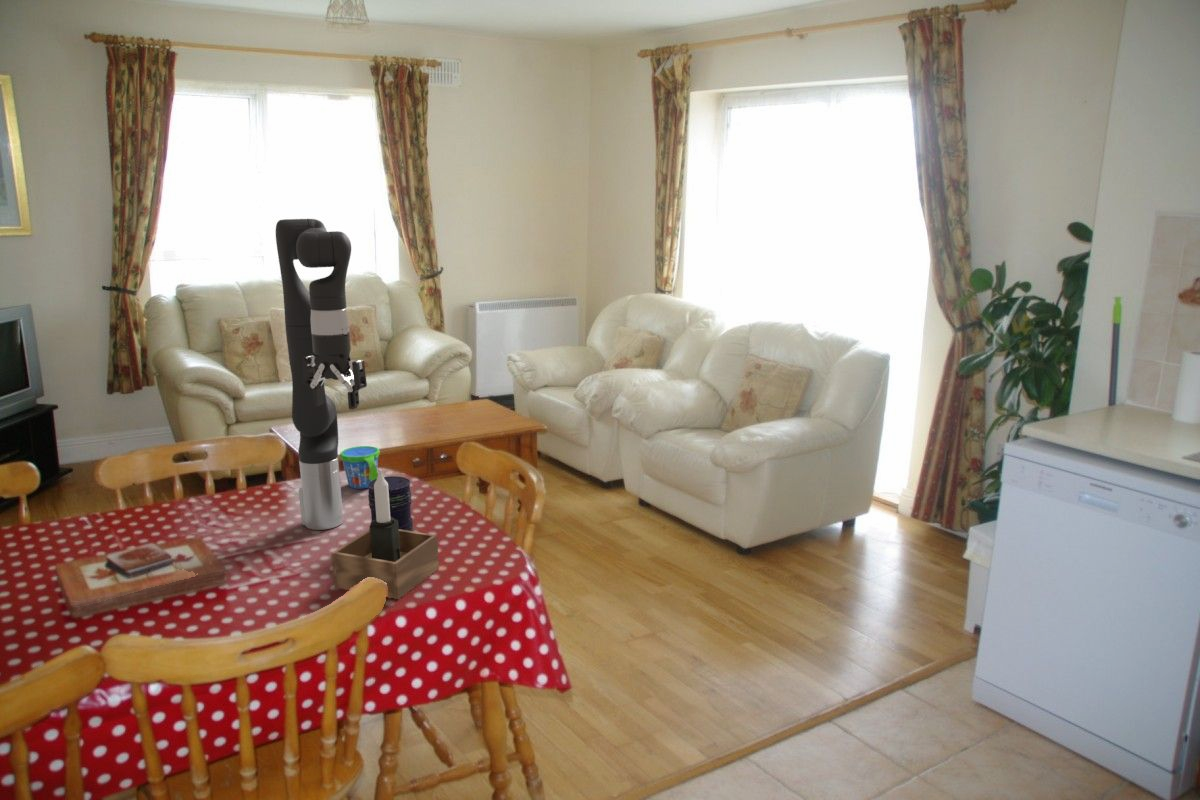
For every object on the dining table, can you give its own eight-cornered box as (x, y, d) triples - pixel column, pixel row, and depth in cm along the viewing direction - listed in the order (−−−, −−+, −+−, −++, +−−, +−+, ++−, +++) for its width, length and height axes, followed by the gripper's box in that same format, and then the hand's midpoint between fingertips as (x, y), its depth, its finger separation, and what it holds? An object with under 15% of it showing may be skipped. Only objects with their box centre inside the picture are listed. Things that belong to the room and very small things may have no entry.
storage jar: (377, 553, 208) (372, 493, 204) (367, 539, 217) (362, 480, 213) (419, 545, 213) (415, 485, 209) (407, 531, 221) (404, 473, 217)
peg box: (334, 587, 191) (331, 552, 189) (378, 558, 206) (375, 525, 204) (398, 599, 186) (396, 564, 184) (438, 568, 200) (437, 535, 198)
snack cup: (335, 481, 257) (332, 447, 254) (370, 474, 263) (368, 441, 260) (353, 497, 244) (350, 461, 242) (390, 489, 250) (388, 454, 248)
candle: (393, 583, 193) (385, 473, 187) (371, 581, 194) (363, 472, 188) (403, 573, 198) (396, 465, 192) (381, 571, 199) (374, 464, 193)
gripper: (290, 331, 184) (297, 408, 188) (348, 335, 179) (354, 414, 183) (313, 325, 190) (320, 399, 194) (370, 329, 185) (375, 405, 189)
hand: (336, 406), depth 188 cm, fingers open, 8 cm apart
